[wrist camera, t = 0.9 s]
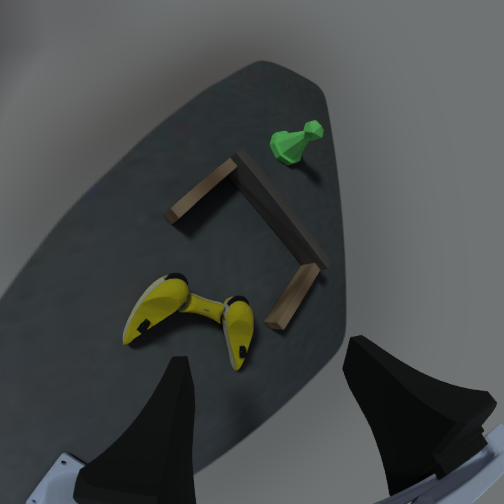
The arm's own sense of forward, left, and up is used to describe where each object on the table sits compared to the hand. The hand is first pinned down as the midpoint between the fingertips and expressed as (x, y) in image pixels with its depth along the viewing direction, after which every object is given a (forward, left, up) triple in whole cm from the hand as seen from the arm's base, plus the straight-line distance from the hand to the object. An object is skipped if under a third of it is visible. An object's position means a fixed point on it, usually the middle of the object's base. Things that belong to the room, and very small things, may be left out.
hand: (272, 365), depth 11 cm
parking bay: (+10, +1, -12) cm, 15 cm away
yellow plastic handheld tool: (+1, 0, -12) cm, 12 cm away
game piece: (+23, +5, -12) cm, 26 cm away
